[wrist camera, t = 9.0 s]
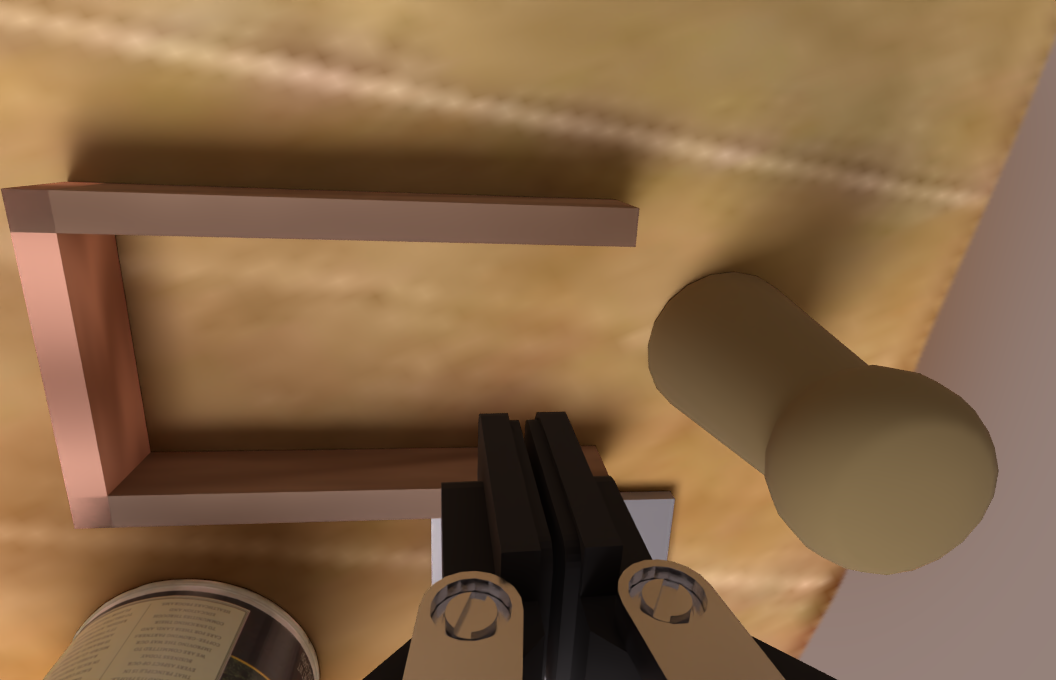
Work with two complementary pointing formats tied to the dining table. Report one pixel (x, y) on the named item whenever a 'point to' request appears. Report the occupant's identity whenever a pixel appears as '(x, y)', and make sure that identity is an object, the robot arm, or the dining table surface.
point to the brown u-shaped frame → (110, 368)
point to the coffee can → (188, 637)
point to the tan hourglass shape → (826, 426)
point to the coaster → (644, 507)
